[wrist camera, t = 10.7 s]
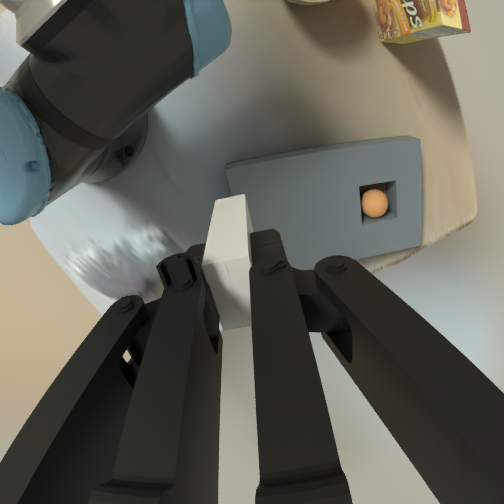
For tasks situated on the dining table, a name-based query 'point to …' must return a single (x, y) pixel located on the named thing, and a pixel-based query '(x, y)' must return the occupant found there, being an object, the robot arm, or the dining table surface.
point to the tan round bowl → (308, 2)
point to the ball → (374, 203)
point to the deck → (334, 198)
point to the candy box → (420, 19)
